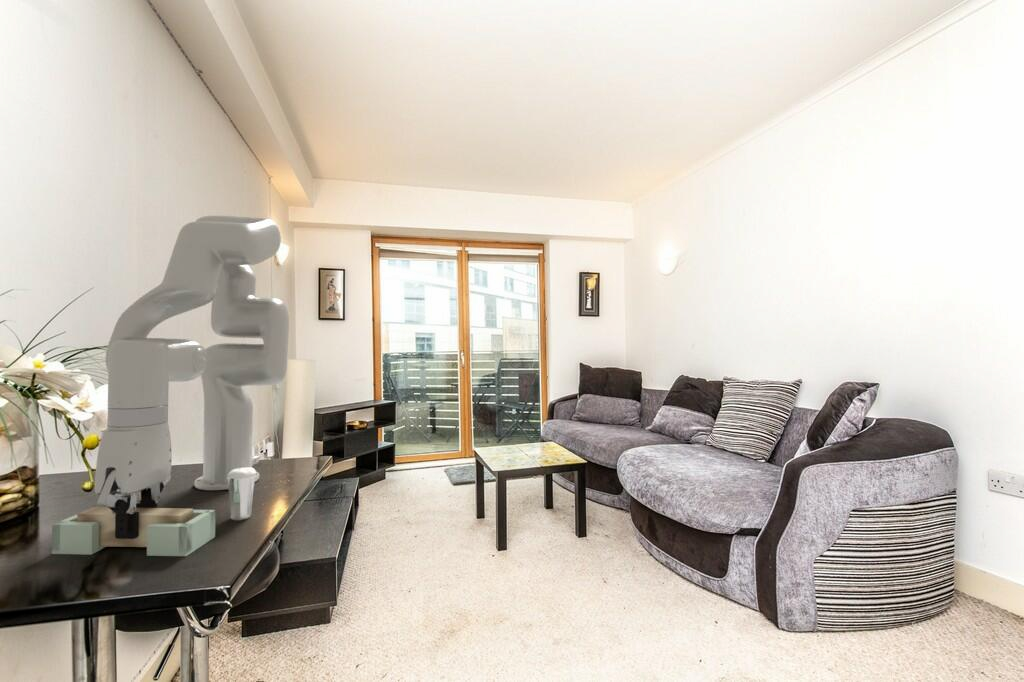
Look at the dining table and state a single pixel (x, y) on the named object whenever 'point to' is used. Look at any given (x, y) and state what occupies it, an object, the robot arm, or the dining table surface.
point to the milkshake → (241, 491)
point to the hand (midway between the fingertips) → (136, 531)
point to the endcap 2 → (181, 535)
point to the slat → (145, 519)
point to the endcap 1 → (75, 537)
